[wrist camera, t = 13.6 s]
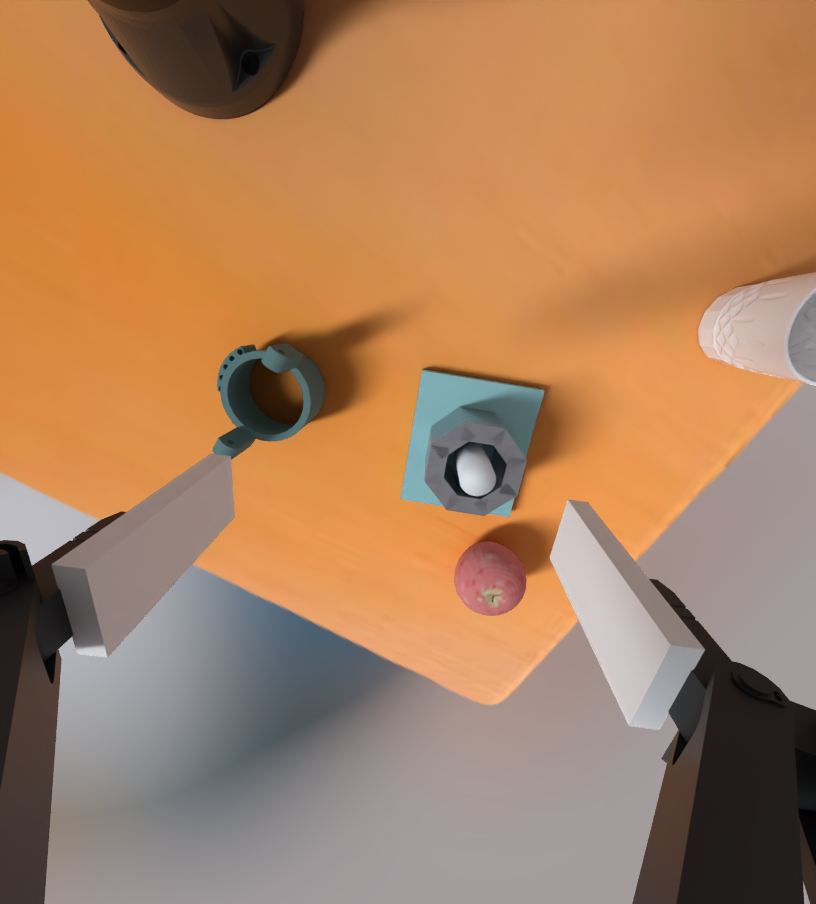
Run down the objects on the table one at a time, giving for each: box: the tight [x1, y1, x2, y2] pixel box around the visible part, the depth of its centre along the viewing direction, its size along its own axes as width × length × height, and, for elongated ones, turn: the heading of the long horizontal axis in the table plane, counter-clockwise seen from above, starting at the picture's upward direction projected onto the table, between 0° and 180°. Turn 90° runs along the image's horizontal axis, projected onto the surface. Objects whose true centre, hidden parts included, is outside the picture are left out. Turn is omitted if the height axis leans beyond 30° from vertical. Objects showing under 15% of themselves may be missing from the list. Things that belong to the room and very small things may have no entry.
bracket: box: [213, 343, 325, 459], centre depth 35 cm, size 9×9×9 cm
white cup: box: [698, 272, 816, 386], centre depth 30 cm, size 8×8×10 cm
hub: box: [424, 407, 527, 516], centre depth 36 cm, size 8×8×6 cm
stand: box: [401, 369, 545, 517], centre depth 35 cm, size 14×12×9 cm
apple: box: [454, 541, 526, 616], centre depth 41 cm, size 7×7×8 cm
